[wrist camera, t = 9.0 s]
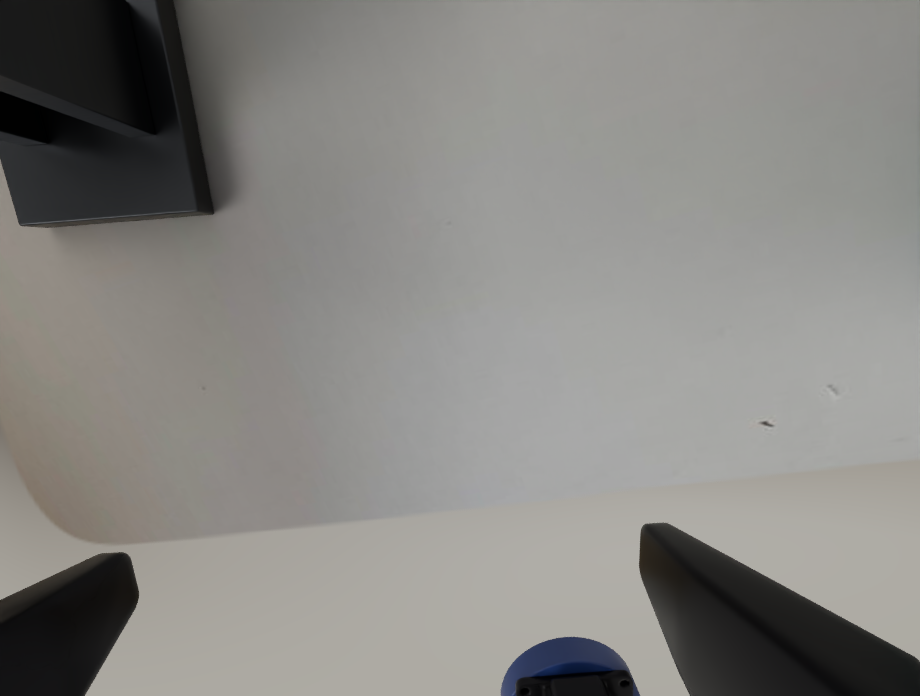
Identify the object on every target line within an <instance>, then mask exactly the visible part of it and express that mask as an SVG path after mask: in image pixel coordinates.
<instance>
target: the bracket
mask: <svg viewBox="0 0 920 696" xmlns="http://www.w3.org/2000/svg"><path fill="white" fill-rule="evenodd" d="M0 159H1V163H2V166H3V170H4V173H5V177H6V180H7V184H8V187H9V191H10V194H11V197H12V201H13V204H14V208H15V211H16V215H17V218H18V222H19V224H20V225H21V226H29V227H45V228H49V227H61V226H74V225H87V224H99V223H112V222H124V221H137V220H149V219H162V218H174V217H187V216H199V215H212V214H214V210H213V205H212V199H211V194H210V189H209V184H208V179H207V173H206V168H205V163H204V158H203V153H202V148H201V142H200V137H199V132H198V127H197V122H196V116H195V111H194V106H193V101H192V96H191V91H190V85H189V80H188V75H187V70H186V65H185V59H184V54H183V49H182V44H181V39H180V33H179V28H178V23H177V18H176V13H175V8H174V2H173V0H0Z"/></svg>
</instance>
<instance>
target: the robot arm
mask: <svg viewBox="0 0 920 696" xmlns="http://www.w3.org/2000/svg"><path fill="white" fill-rule="evenodd" d="M639 560H640V561H639V568H640V574H641V578H642V581H643V583H644V586H645V588H646V591H647V593H648V596H649V599H650V601H651V604H652V606H653V609H654V611H655V614H656V616H657V619H658V621H659V624H660V627H661V629H662V632H663V634H664V637H665V639H666V642H667V644H668V647H669V649H670V652H671V654H672V657H673V659H674V662H675V664H676V666H677V669H678V671H679V674H680V676H681V678H682V680H683V681H684V684H685V686H686V688H687V690H688V692H689V694H690V696H920V662H919V660H918V659H917V658H915V657H914V656H912V655H910V654H908V653H906V652H905V651H902V650H901V649H899V648H897V647H895V646H893V645H891V644H890V643H888V642H886V641H884V640H882V639H881V638H879V637H877V636H875V635H873V634H871V633H869V632H868V631H866V630H864V629H862V628H860V627H858V626H857V625H854V624H853V623H851V622H849V621H847V620H845V619H844V618H842V617H840V616H838V615H836V614H834V613H833V612H831V611H829V610H827V609H825V608H823V607H821V606H820V605H818V604H816V603H814V602H812V601H810V600H808V599H807V598H805V597H803V596H801V595H799V594H797V593H796V592H794V591H792V590H790V589H788V588H786V587H785V586H783V585H781V584H779V583H777V582H775V581H773V580H771V579H770V578H768V577H766V576H764V575H762V574H760V573H759V572H757V571H755V570H753V569H751V568H749V567H747V566H746V565H744V564H742V563H740V562H738V561H736V560H735V559H733V558H731V557H729V556H727V555H725V554H724V553H722V552H720V551H718V550H716V549H714V548H712V547H710V546H709V545H707V544H705V543H703V542H701V541H700V540H698V539H696V538H694V537H692V536H690V535H688V534H687V533H685V532H683V531H681V530H679V529H677V528H676V527H674V526H672V525H670V524H668V523H652V524H645V525H643V527H642V529H641V537H640V559H639ZM138 598H139V591H138V586H137V582H136V578H135V574H134V570H133V565H132V561H131V558H130V557H129V556H128V554H126V553H123V552H119V553H102V554H98V555H96V556H94V557H92V558H89V559H87V560H85V561H83V562H81V563H79V564H77V565H74V566H72V567H70V568H68V569H66V570H64V571H61V572H59V573H57V574H55V575H53V576H51V577H49V578H47V579H44V580H42V581H40V582H38V583H36V584H34V585H32V586H29V587H27V588H25V589H23V590H21V591H19V592H16V593H14V594H12V595H10V596H8V597H6V598H4V599H1V600H0V696H85V694H86V692H87V691H88V689H89V687H90V686H91V684H92V682H93V680H94V679H95V677H96V675H97V674H98V672H99V670H100V668H101V667H102V665H103V663H104V662H105V660H106V658H107V656H108V654H109V653H110V651H111V649H112V647H113V646H114V644H115V642H116V641H117V639H118V637H119V635H120V634H121V632H122V630H123V629H124V627H125V625H126V624H127V622H128V620H129V618H130V617H131V615H132V613H133V612H134V610H135V608H136V605H137V603H138ZM515 691H516V696H633V680H632V678H631V675H630V673H629V672H628V671H626V670H612V671H599V672H586V673H573V674H561V675H548V676H535V677H523V678H520V679H518V680H517V681H516V683H515Z"/></svg>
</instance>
